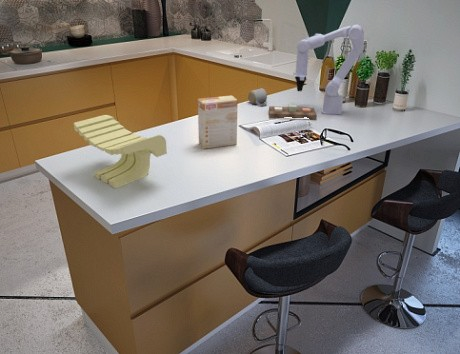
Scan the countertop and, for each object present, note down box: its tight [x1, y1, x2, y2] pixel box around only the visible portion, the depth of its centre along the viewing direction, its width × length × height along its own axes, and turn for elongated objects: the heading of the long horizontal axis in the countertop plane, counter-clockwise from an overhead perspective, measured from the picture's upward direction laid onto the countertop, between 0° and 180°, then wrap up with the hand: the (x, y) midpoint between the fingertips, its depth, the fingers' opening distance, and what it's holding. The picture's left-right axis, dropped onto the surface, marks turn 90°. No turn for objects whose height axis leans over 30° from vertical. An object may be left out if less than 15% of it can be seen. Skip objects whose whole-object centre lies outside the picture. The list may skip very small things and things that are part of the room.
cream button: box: [274, 106, 283, 112], centre depth 218 cm, size 4×4×3 cm
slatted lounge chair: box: [73, 114, 168, 189], centre depth 150 cm, size 30×16×18 cm, turn 48°
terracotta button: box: [302, 107, 311, 113], centre depth 217 cm, size 4×4×3 cm
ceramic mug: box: [247, 87, 268, 107], centre depth 233 cm, size 11×8×8 cm
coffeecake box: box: [197, 95, 238, 150], centre depth 178 cm, size 15×7×20 cm, turn 111°
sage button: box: [287, 104, 298, 112], centre depth 217 cm, size 4×4×3 cm
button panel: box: [268, 105, 318, 121], centre depth 218 cm, size 23×12×2 cm, turn 87°
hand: (299, 90), depth 224 cm, fingers closed
